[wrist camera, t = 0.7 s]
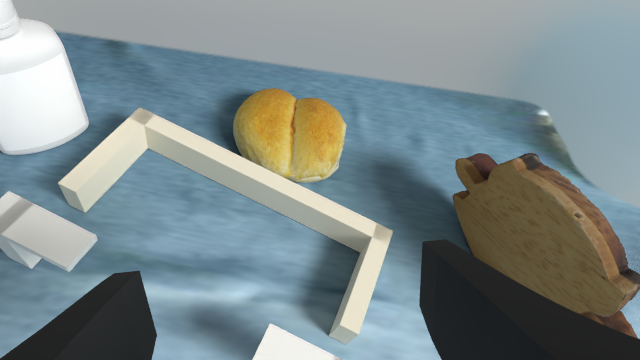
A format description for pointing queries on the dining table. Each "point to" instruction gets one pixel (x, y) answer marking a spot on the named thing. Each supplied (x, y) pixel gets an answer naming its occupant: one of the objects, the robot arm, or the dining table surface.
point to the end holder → (247, 180)
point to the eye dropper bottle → (35, 87)
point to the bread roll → (290, 135)
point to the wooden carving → (545, 236)
